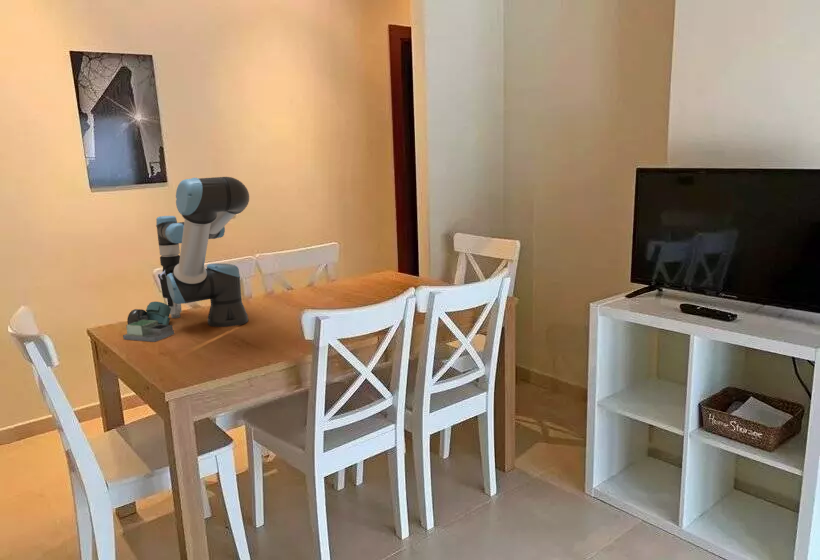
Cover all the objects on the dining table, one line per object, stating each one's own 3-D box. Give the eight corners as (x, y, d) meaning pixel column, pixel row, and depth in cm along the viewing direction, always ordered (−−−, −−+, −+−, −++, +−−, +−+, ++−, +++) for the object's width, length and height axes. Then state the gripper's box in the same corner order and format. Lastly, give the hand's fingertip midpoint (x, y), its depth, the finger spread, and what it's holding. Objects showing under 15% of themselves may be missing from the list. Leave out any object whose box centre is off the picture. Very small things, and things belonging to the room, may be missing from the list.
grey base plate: (174, 334, 233) (172, 320, 232) (154, 341, 224) (153, 328, 223) (143, 331, 238) (142, 318, 237) (123, 339, 229) (121, 325, 228)
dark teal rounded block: (175, 307, 247) (168, 327, 242) (164, 315, 253) (157, 335, 248) (153, 297, 242) (146, 317, 237) (143, 306, 248) (135, 326, 243)
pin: (183, 316, 259) (180, 287, 257) (179, 319, 255) (176, 289, 253) (172, 316, 259) (169, 287, 257) (168, 319, 255) (165, 290, 253)
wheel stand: (153, 329, 241) (151, 307, 240) (138, 334, 234) (135, 312, 232) (140, 328, 244) (138, 306, 242) (125, 333, 236) (122, 311, 235)
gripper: (175, 252, 261) (180, 308, 266) (148, 258, 247) (154, 317, 251) (190, 252, 259) (195, 308, 263) (164, 258, 244) (170, 318, 249)
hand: (175, 312), depth 257 cm, fingers closed on pin, 3 cm apart
